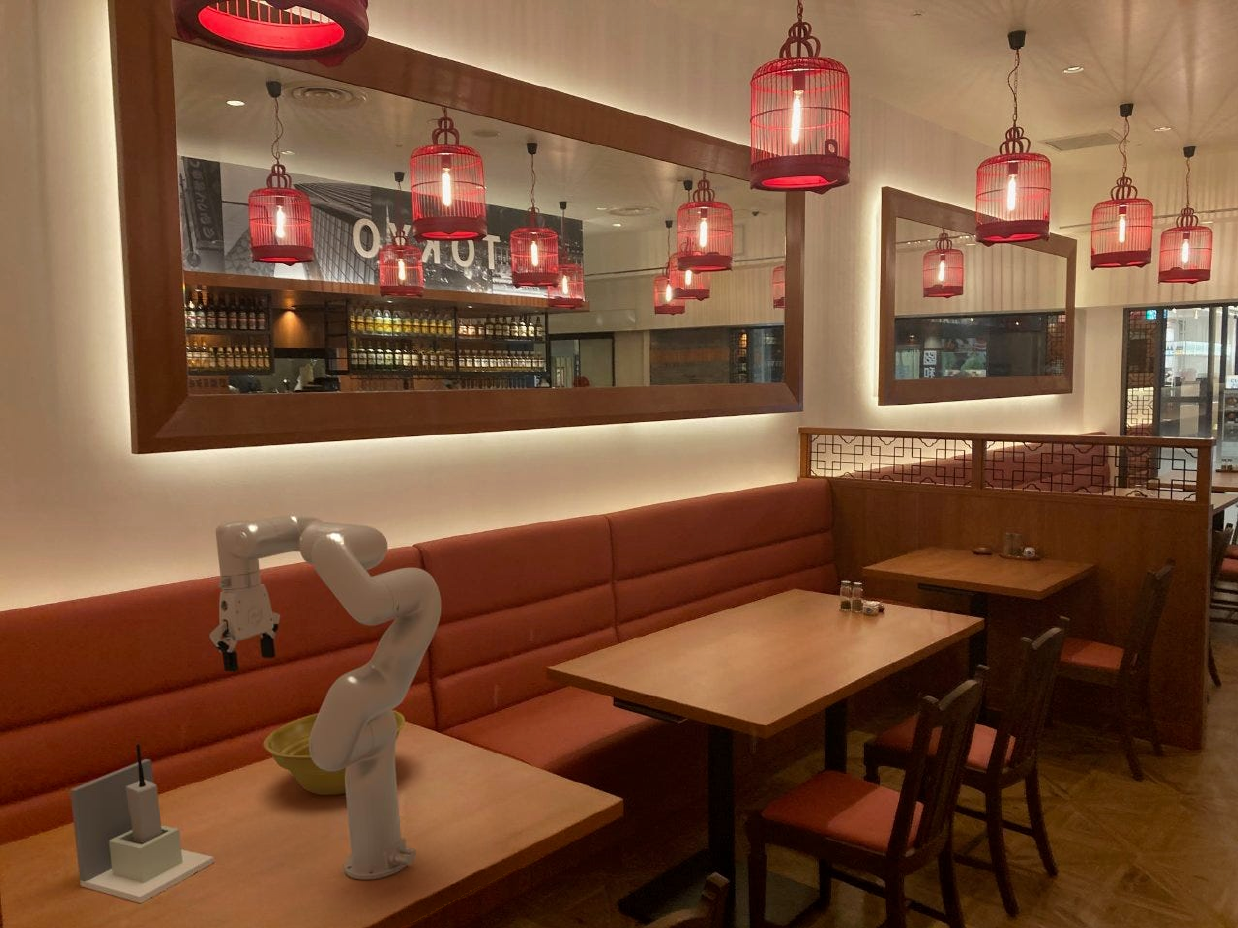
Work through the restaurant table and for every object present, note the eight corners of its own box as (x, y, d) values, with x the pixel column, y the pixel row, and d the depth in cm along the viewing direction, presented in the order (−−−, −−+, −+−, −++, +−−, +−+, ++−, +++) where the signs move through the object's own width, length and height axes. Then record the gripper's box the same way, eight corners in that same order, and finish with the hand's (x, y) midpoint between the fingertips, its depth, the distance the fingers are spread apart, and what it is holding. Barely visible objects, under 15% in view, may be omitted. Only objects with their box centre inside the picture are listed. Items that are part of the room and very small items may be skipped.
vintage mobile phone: (153, 860, 186) (139, 738, 185) (165, 866, 183) (152, 742, 182) (134, 868, 183) (120, 744, 182) (146, 875, 180) (133, 748, 179)
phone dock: (214, 862, 186) (204, 768, 185) (140, 903, 172) (130, 802, 171) (155, 848, 194) (145, 758, 193) (80, 885, 180) (70, 789, 179)
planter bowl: (337, 823, 200) (331, 762, 199) (239, 800, 217) (233, 744, 216) (437, 767, 228) (432, 714, 227) (343, 751, 244) (338, 701, 243)
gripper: (219, 590, 181) (229, 677, 182) (286, 573, 196) (295, 653, 197) (192, 590, 184) (202, 675, 185) (260, 573, 200) (269, 652, 201)
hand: (250, 663), depth 191 cm, fingers open, 9 cm apart
